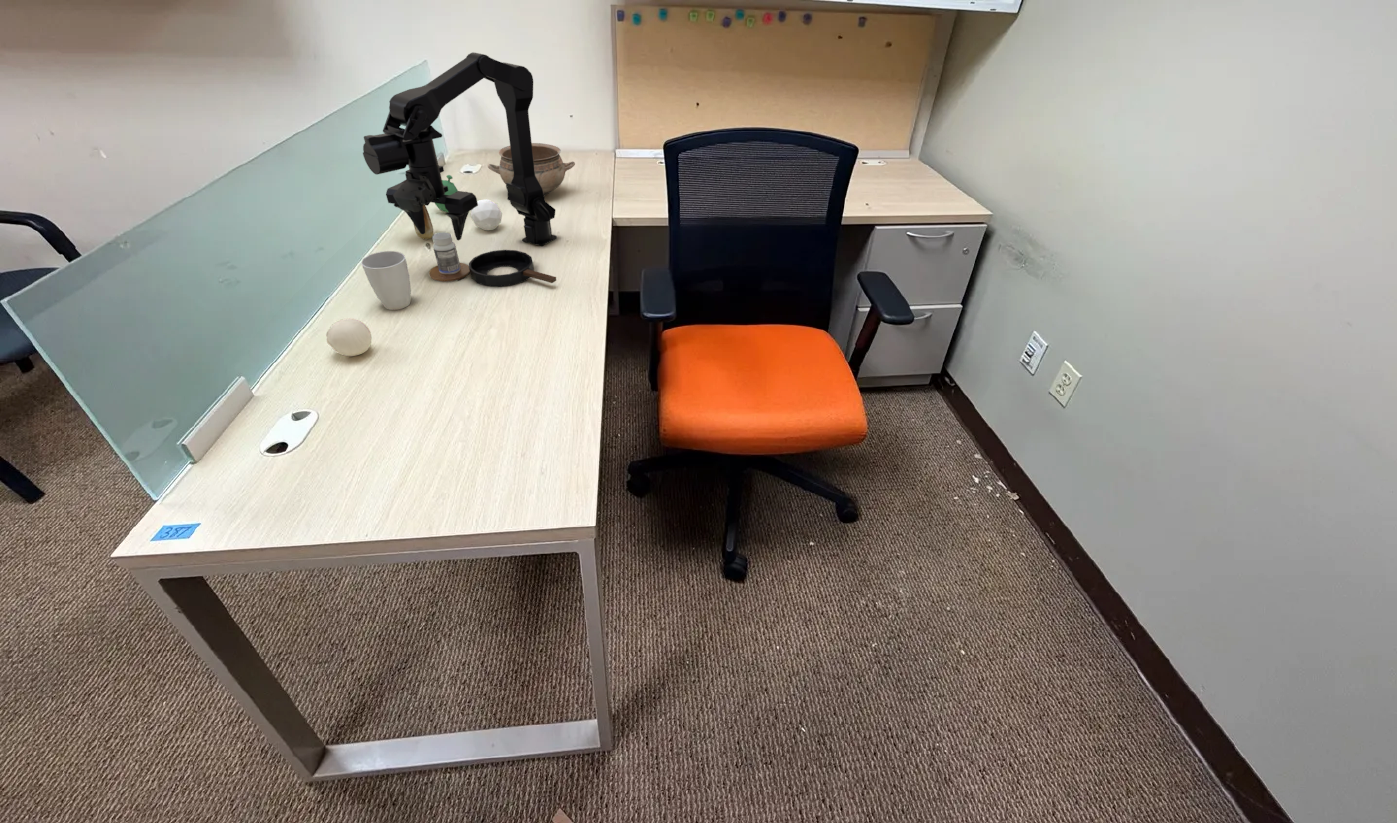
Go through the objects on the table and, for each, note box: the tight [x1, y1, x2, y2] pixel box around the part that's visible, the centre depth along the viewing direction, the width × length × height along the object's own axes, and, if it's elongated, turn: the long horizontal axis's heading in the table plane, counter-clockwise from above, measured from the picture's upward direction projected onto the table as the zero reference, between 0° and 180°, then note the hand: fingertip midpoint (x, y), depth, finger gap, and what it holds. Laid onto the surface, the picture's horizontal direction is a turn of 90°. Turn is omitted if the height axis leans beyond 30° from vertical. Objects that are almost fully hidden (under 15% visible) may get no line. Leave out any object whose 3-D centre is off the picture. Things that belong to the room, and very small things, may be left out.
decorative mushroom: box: [400, 179, 435, 240], centre depth 148 cm, size 11×11×15 cm
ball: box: [470, 198, 503, 231], centre depth 156 cm, size 8×8×8 cm
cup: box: [360, 250, 412, 311], centre depth 123 cm, size 8×8×10 cm
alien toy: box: [434, 174, 459, 213], centre depth 164 cm, size 7×8×10 cm
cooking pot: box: [487, 142, 576, 197], centre depth 177 cm, size 25×19×12 cm
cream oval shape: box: [325, 317, 372, 357], centre depth 109 cm, size 7×7×7 cm
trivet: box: [428, 262, 471, 282], centre depth 138 cm, size 9×9×1 cm
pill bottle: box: [431, 231, 461, 274], centre depth 135 cm, size 5×5×8 cm
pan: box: [468, 249, 557, 288], centre depth 137 cm, size 14×22×3 cm, turn 63°
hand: (441, 236), depth 132 cm, fingers open, 9 cm apart
